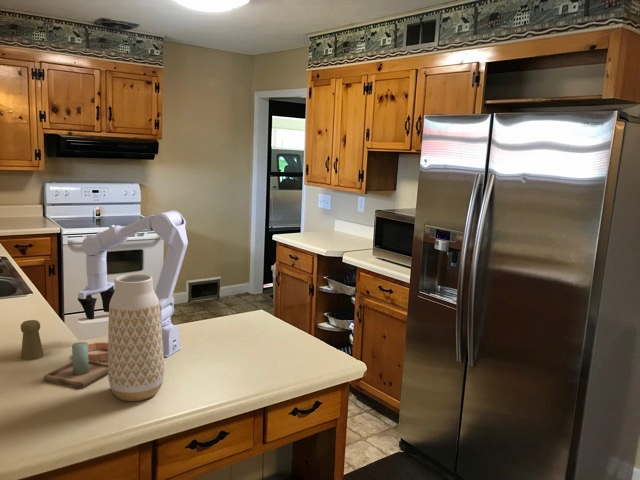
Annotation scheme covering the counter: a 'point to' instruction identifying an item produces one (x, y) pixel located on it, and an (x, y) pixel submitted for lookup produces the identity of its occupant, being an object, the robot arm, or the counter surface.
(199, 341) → the counter surface
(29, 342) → the olive pepper mill
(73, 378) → the walnut tray
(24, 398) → the counter surface
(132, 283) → the vase
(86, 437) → the counter surface
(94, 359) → the faceted terracotta ring
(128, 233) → the robot arm
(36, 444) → the counter surface
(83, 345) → the gray-green peg
